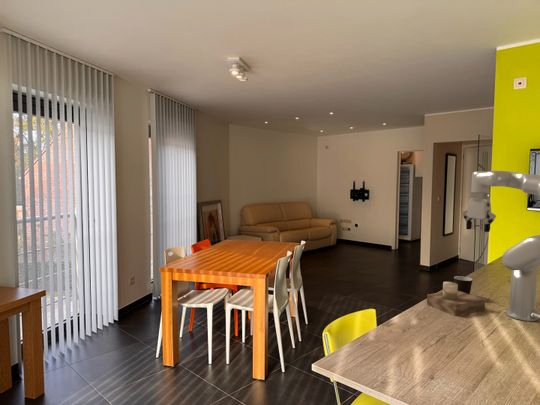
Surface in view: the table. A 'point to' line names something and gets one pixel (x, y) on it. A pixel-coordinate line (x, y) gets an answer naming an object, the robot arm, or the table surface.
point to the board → (456, 303)
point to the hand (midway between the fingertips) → (477, 230)
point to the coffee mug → (463, 283)
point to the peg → (450, 290)
